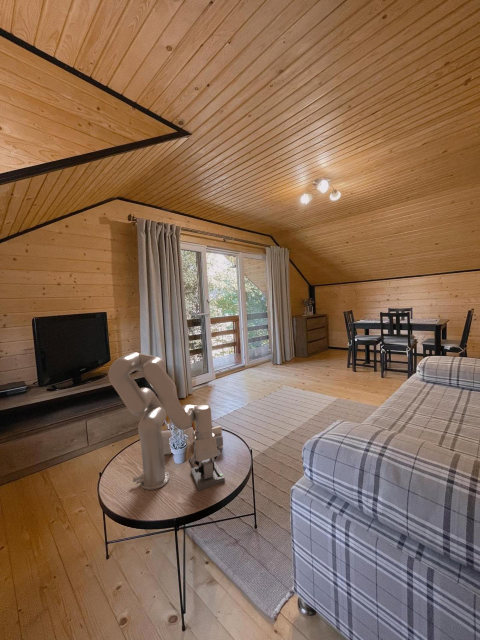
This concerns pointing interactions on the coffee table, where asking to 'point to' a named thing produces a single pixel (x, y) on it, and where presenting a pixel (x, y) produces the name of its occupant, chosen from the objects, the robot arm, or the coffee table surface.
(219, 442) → the plate
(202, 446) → the robot arm
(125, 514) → the coffee table surface
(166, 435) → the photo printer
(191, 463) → the dark piece
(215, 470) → the charging cradle
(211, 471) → the grey rectangular block
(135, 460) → the coffee table surface
